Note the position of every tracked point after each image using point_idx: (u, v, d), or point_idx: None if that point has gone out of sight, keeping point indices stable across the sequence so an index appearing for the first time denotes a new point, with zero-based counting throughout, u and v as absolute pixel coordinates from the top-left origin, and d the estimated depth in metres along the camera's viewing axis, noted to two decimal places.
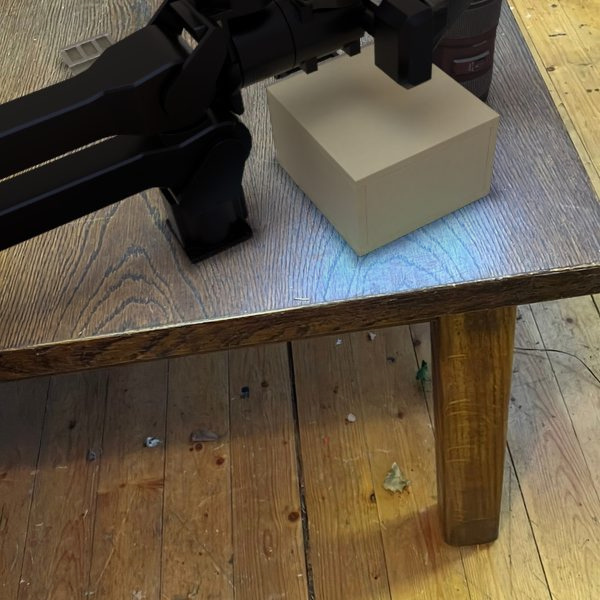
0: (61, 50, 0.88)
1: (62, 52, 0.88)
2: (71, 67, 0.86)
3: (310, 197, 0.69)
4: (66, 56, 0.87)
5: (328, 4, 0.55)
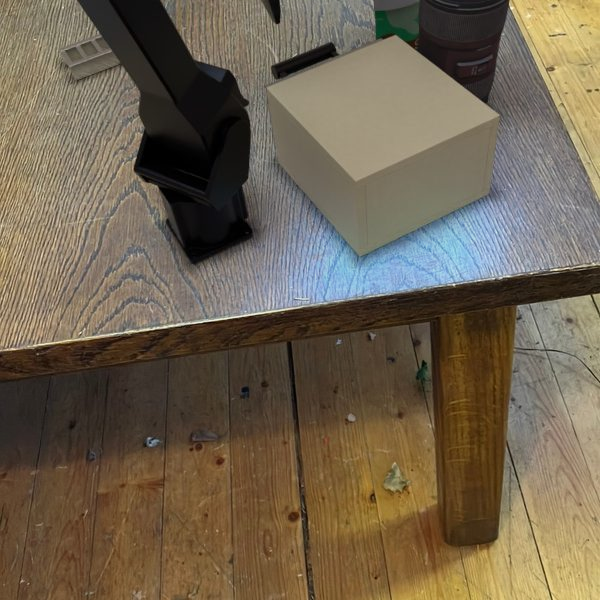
0: (61, 50, 0.88)
1: (62, 52, 0.88)
2: (71, 67, 0.86)
3: (310, 197, 0.69)
4: (66, 56, 0.87)
5: None
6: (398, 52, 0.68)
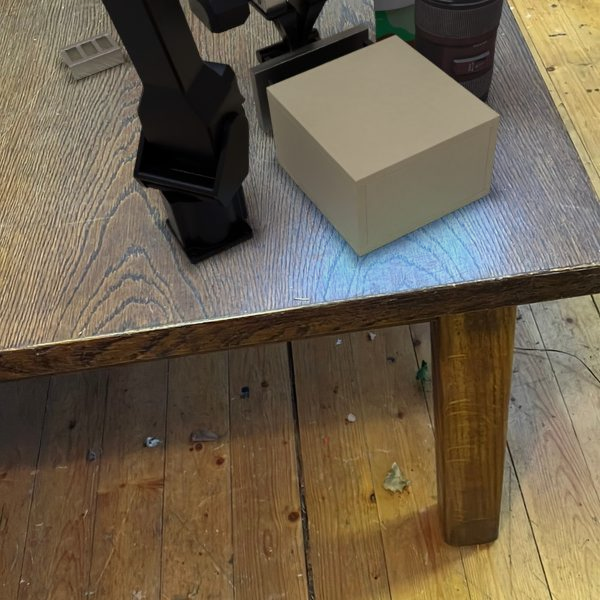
0: (61, 50, 0.88)
1: (62, 52, 0.88)
2: (71, 67, 0.86)
3: (310, 197, 0.69)
4: (66, 56, 0.87)
5: None
6: (398, 52, 0.68)
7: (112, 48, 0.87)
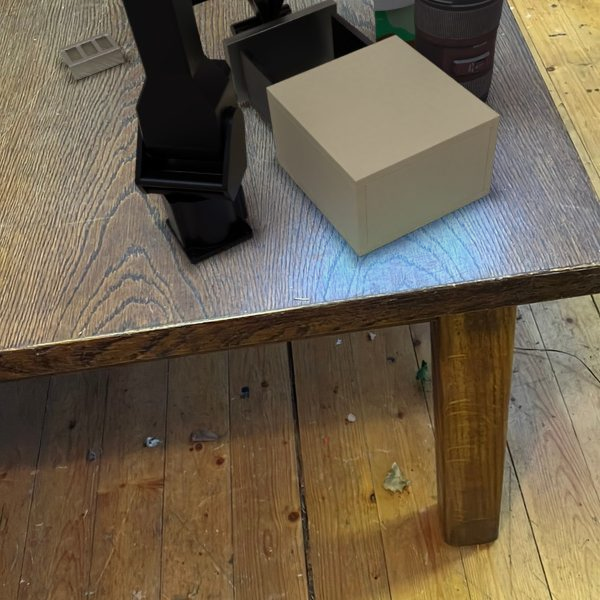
0: (61, 50, 0.88)
1: (62, 52, 0.88)
2: (71, 67, 0.86)
3: (310, 197, 0.69)
4: (66, 56, 0.87)
5: None
6: (398, 52, 0.68)
7: (112, 48, 0.87)
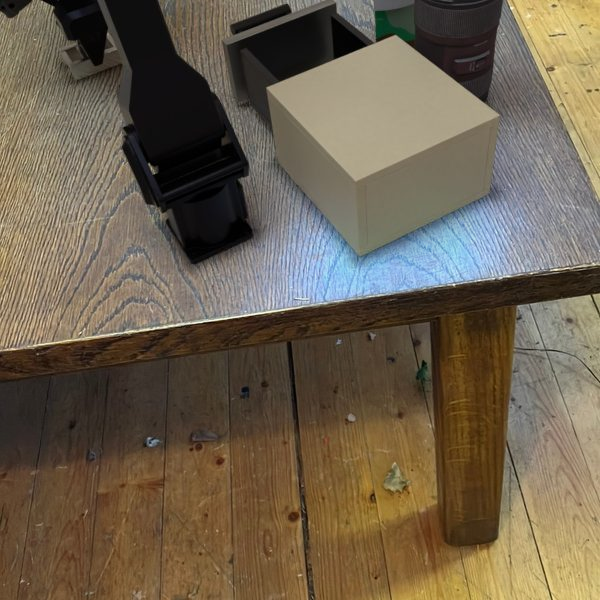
0: (61, 50, 0.88)
1: (62, 52, 0.88)
2: (71, 67, 0.86)
3: (310, 197, 0.69)
4: (66, 56, 0.87)
5: None
6: (398, 52, 0.68)
7: (112, 48, 0.87)
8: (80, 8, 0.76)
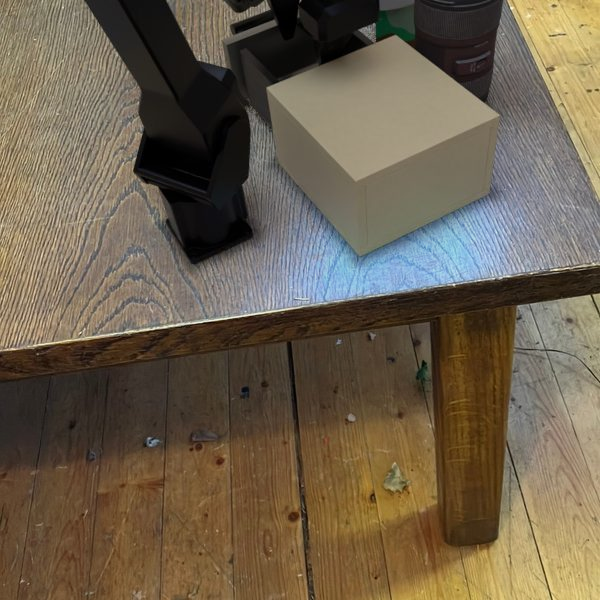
0: None
1: None
2: None
3: (310, 197, 0.69)
4: None
5: None
6: (398, 52, 0.68)
7: None
8: (340, 1, 0.61)
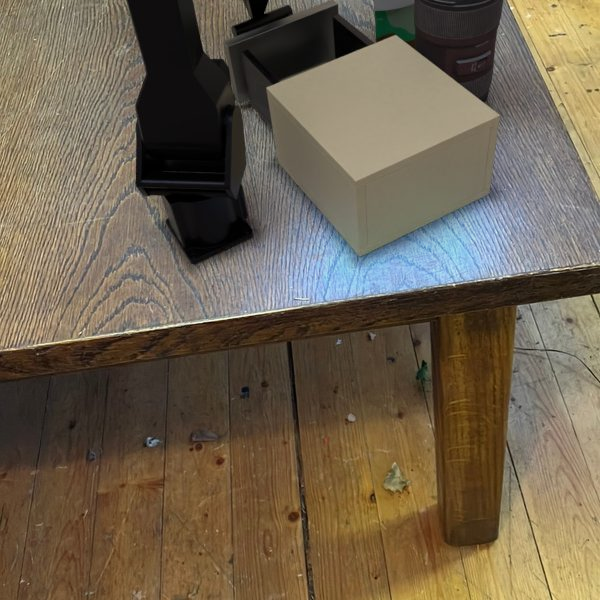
0: None
1: None
2: None
3: (310, 197, 0.69)
4: None
5: None
6: (398, 52, 0.68)
7: None
8: None
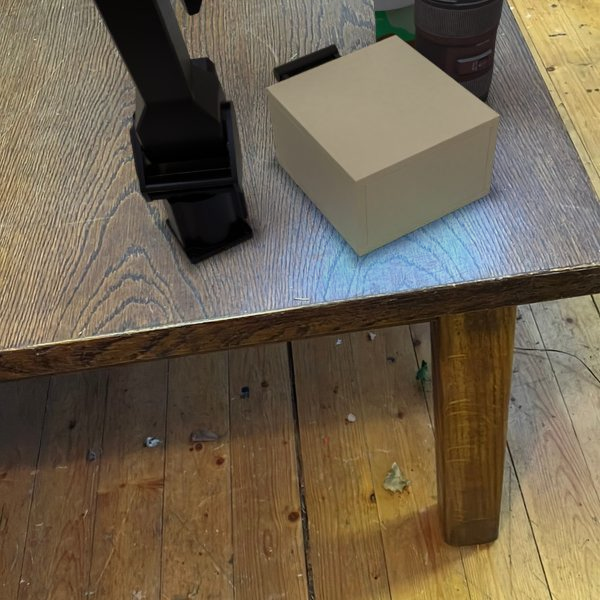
0: None
1: None
2: None
3: (310, 197, 0.69)
4: None
5: None
6: (398, 52, 0.68)
7: None
8: None
